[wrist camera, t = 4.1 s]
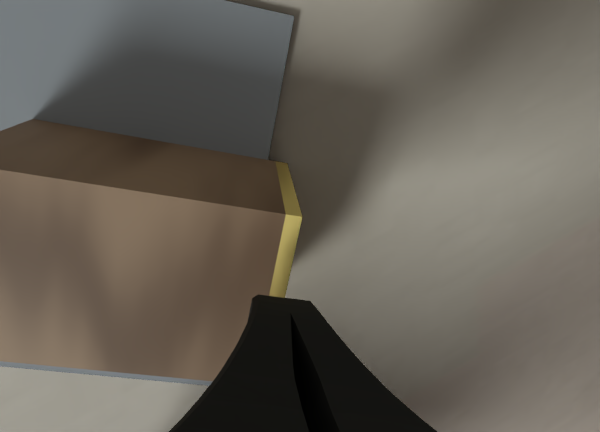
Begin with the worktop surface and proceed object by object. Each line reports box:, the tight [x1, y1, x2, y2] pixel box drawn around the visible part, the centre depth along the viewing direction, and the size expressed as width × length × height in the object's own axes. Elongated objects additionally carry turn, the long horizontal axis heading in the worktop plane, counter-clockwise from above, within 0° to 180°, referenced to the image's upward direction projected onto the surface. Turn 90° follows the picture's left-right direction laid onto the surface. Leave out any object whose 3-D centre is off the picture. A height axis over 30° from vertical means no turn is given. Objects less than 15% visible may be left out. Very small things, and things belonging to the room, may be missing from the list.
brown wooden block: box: [0, 119, 302, 381], centre depth 13 cm, size 5×5×8 cm
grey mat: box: [0, 0, 294, 386], centre depth 15 cm, size 14×14×1 cm
